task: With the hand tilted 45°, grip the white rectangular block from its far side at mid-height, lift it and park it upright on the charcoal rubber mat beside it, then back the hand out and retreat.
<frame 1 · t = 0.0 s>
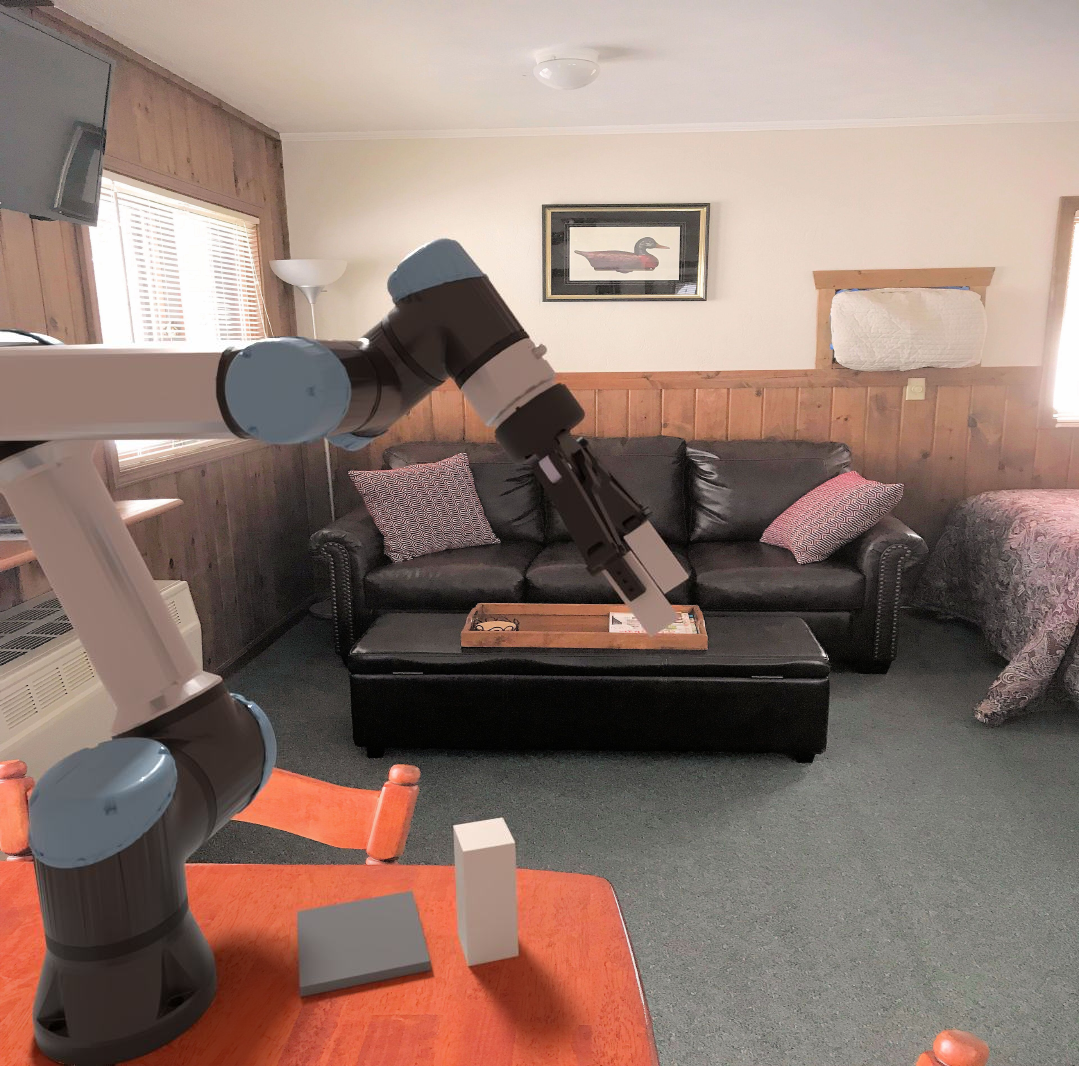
hand: (671, 604, 77), 36 cm above the table, fingers open, 13 cm apart
white rectangular block: (487, 945, 88), on the table
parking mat: (361, 944, 89), on the table
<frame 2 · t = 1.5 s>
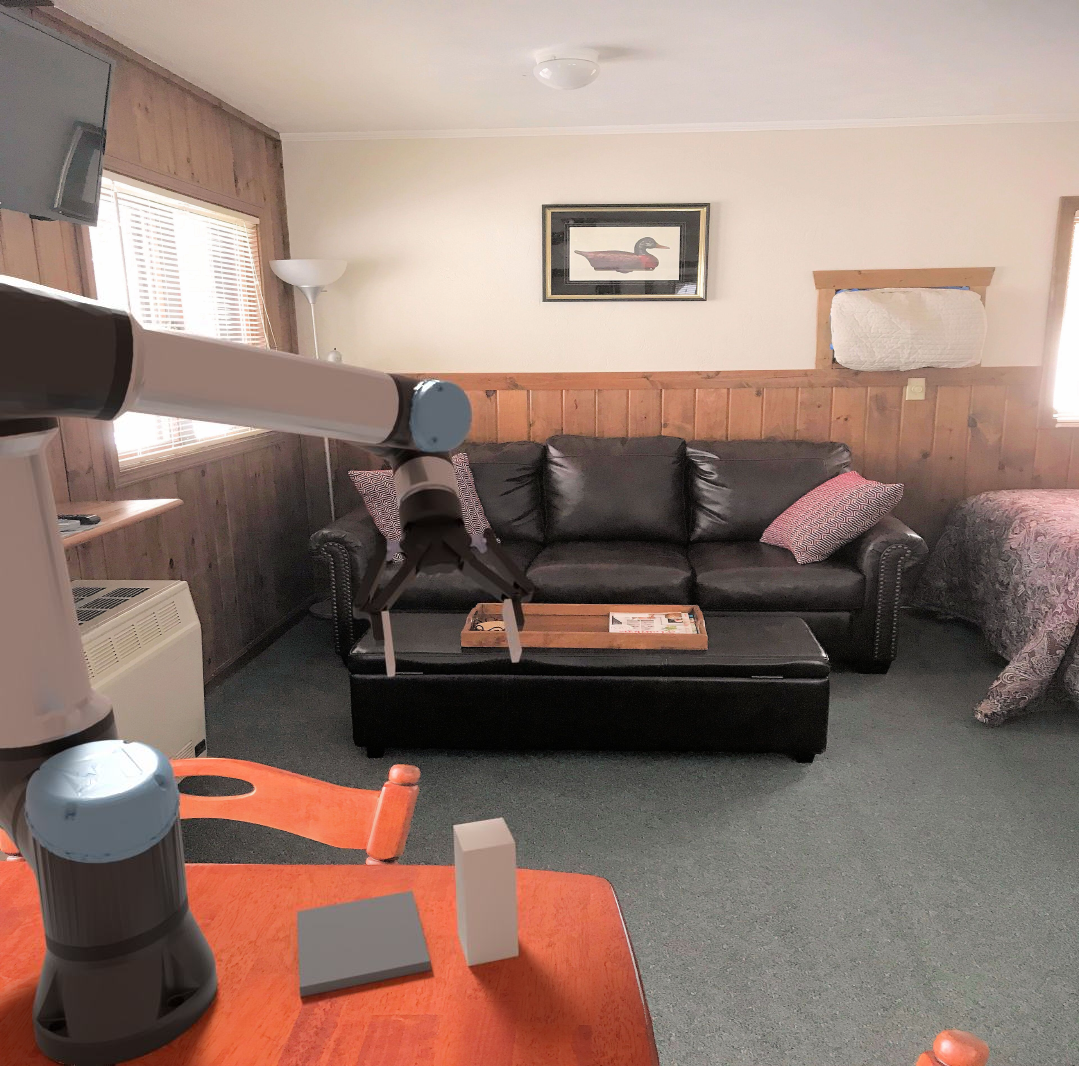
hand: (455, 664, 96), 25 cm above the table, fingers open, 13 cm apart
nothing on the table moved.
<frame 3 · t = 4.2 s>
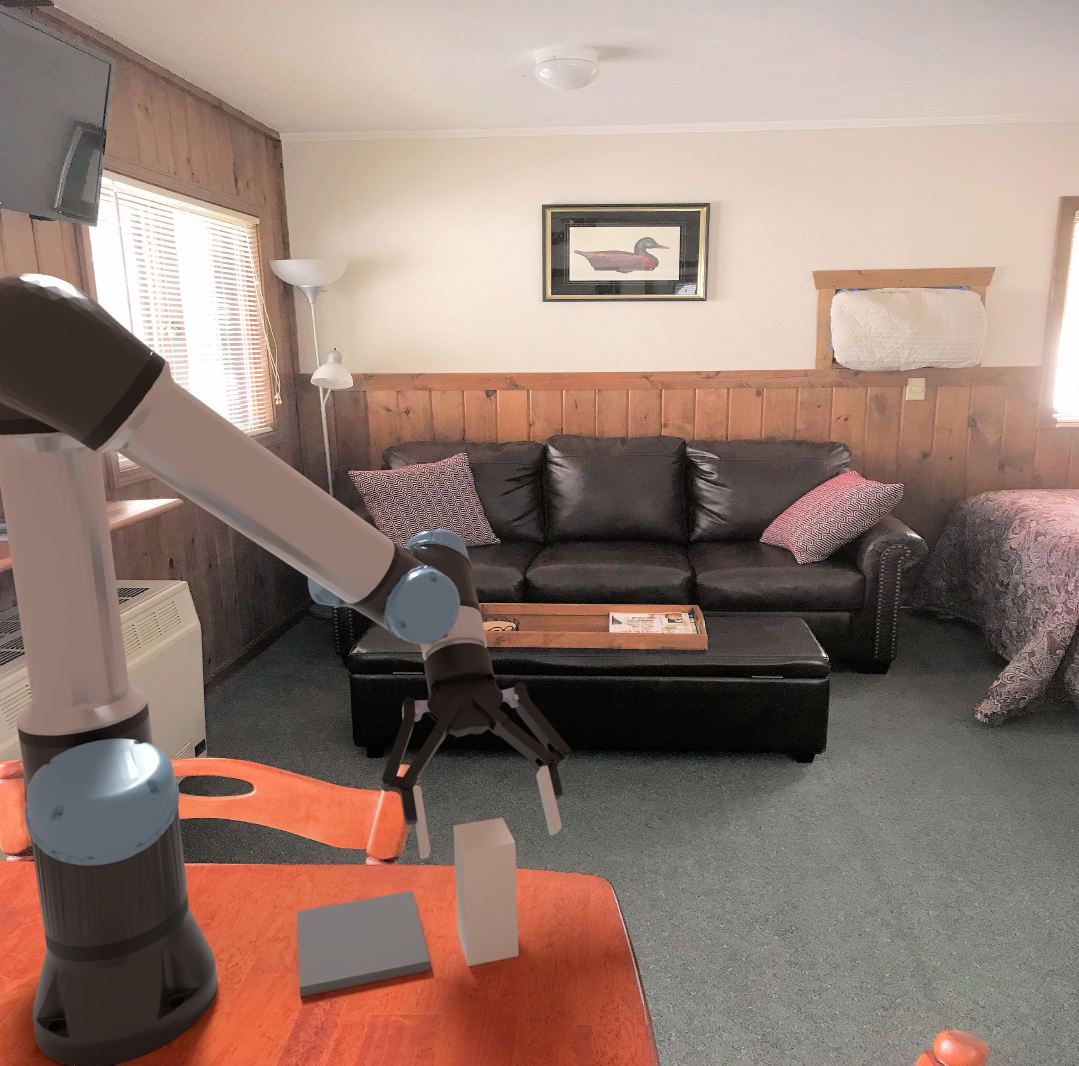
hand: (492, 843, 91), 9 cm above the table, fingers open, 13 cm apart
nothing on the table moved.
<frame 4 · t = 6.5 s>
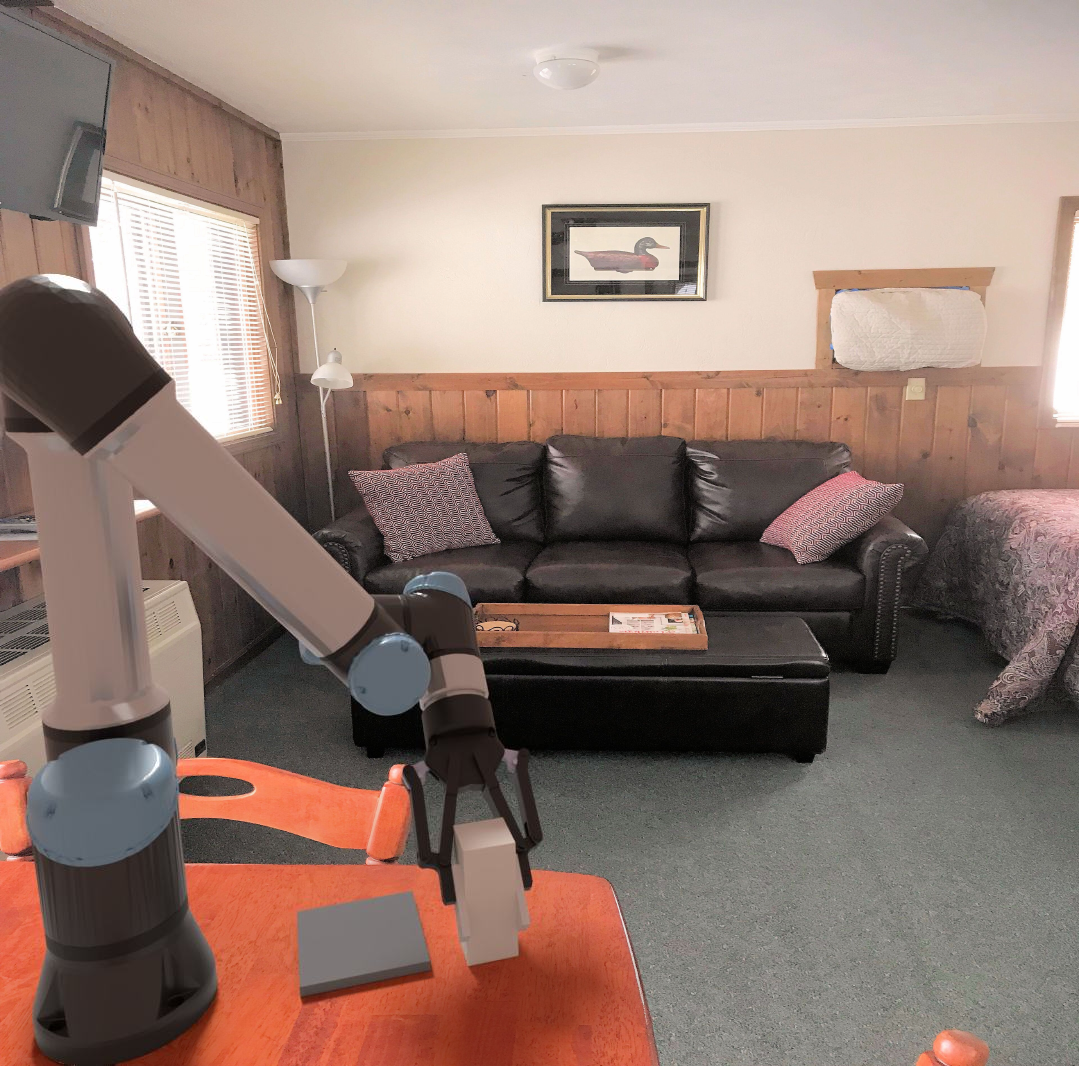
hand: (495, 933, 84), 4 cm above the table, fingers closed on white rectangular block, 5 cm apart
white rectangular block: (487, 945, 88), on the table, touching gripper
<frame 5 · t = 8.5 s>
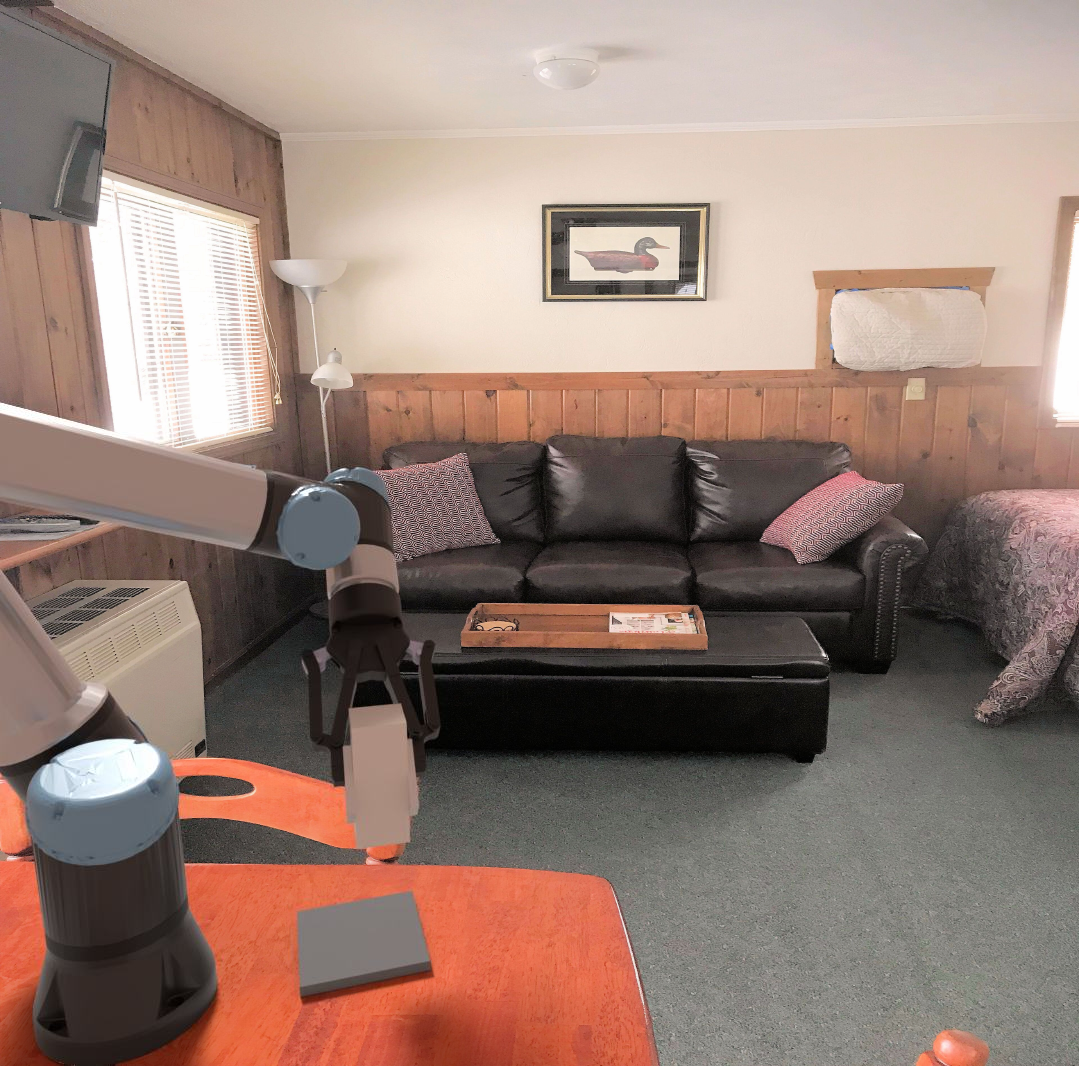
hand: (383, 814, 82), 16 cm above the table, fingers closed on white rectangular block, 5 cm apart
white rectangular block: (381, 832, 86), point 12 cm above the table, touching gripper
when the fingers open (6 cm above the table, at t = 10.9 s): white rectangular block drops 1 cm, resting on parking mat.
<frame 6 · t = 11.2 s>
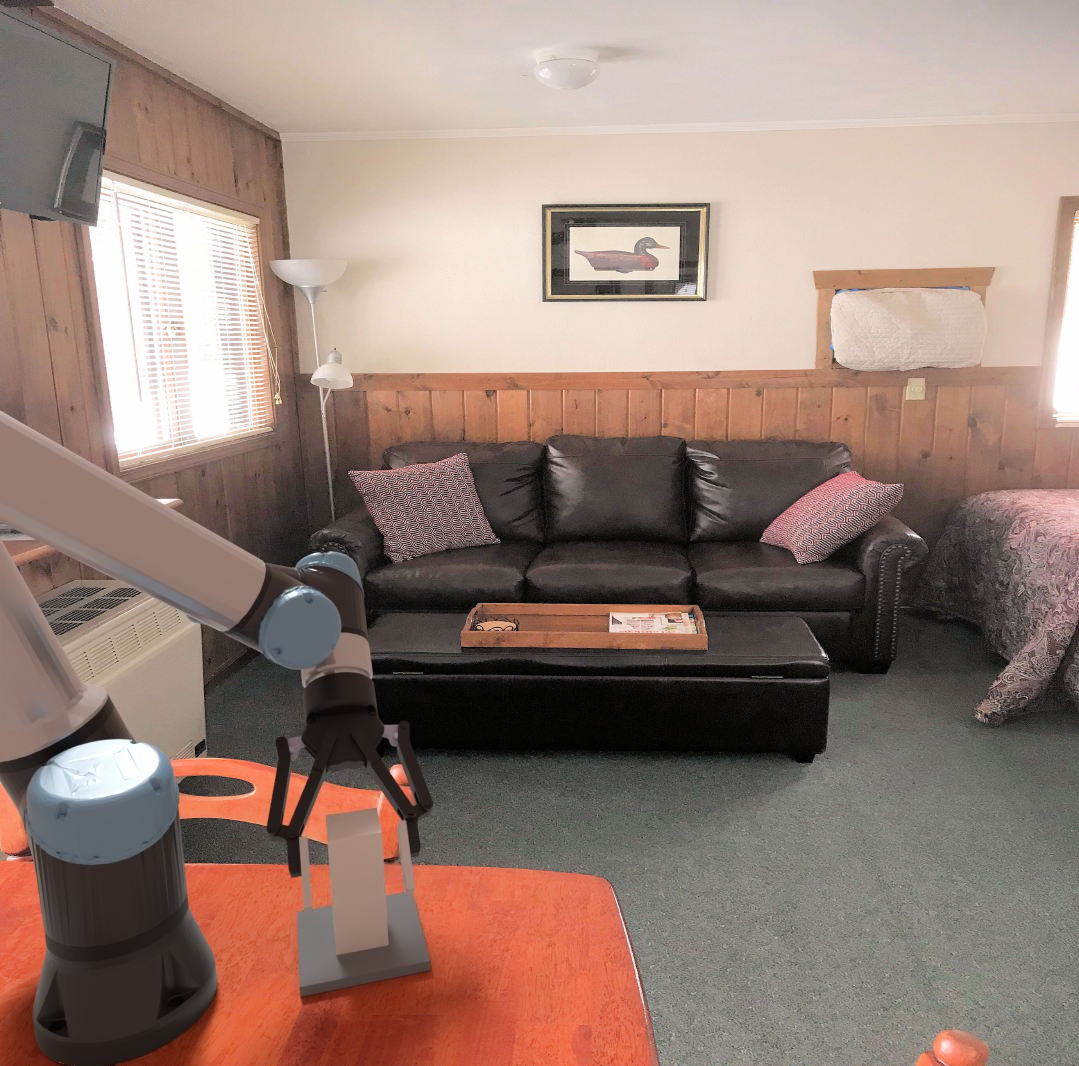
hand: (359, 901, 85), 7 cm above the table, fingers open, 9 cm apart
white rectangular block: (360, 934, 89), point 1 cm above the table, touching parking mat
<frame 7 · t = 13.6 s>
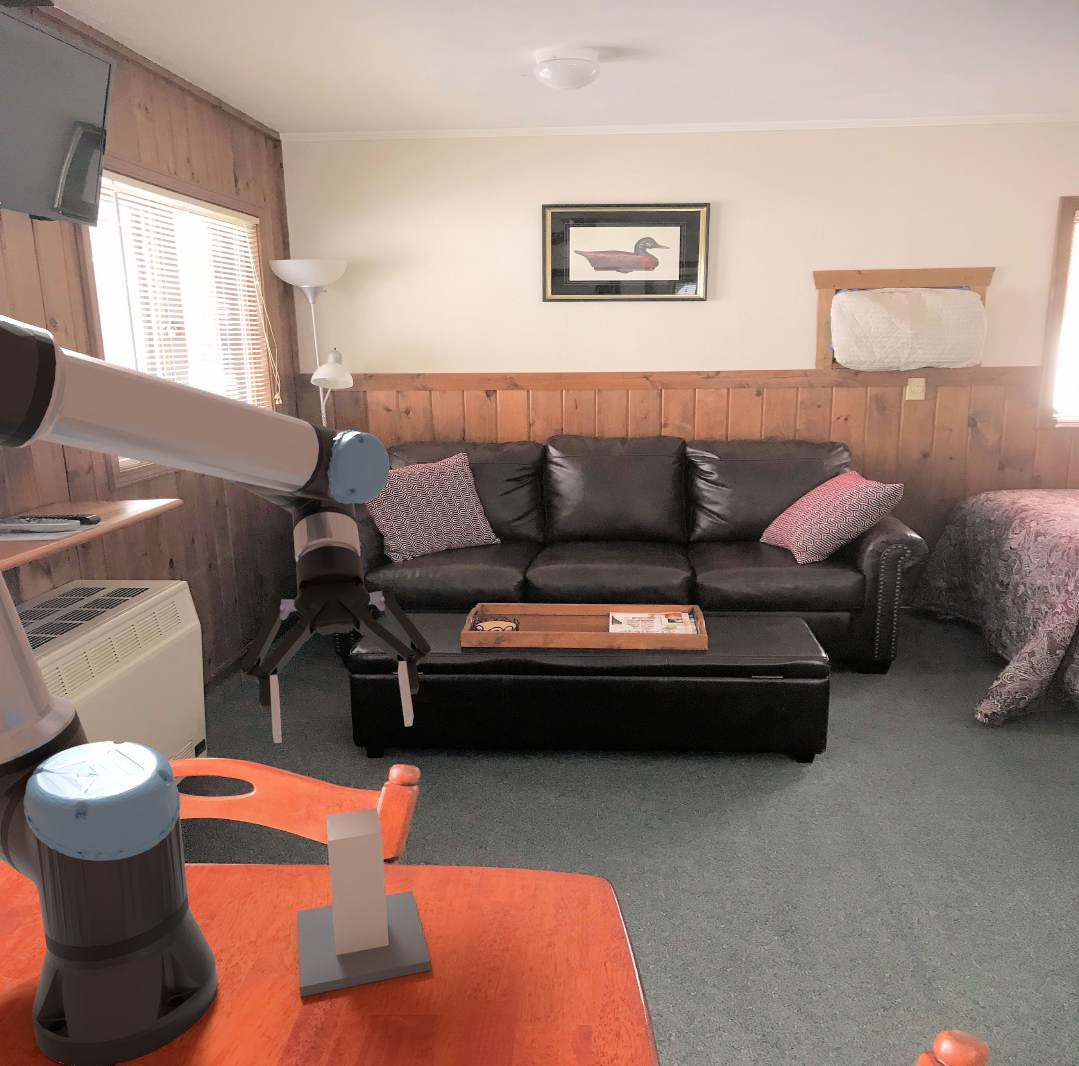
hand: (344, 730, 94), 19 cm above the table, fingers open, 13 cm apart
nothing on the table moved.
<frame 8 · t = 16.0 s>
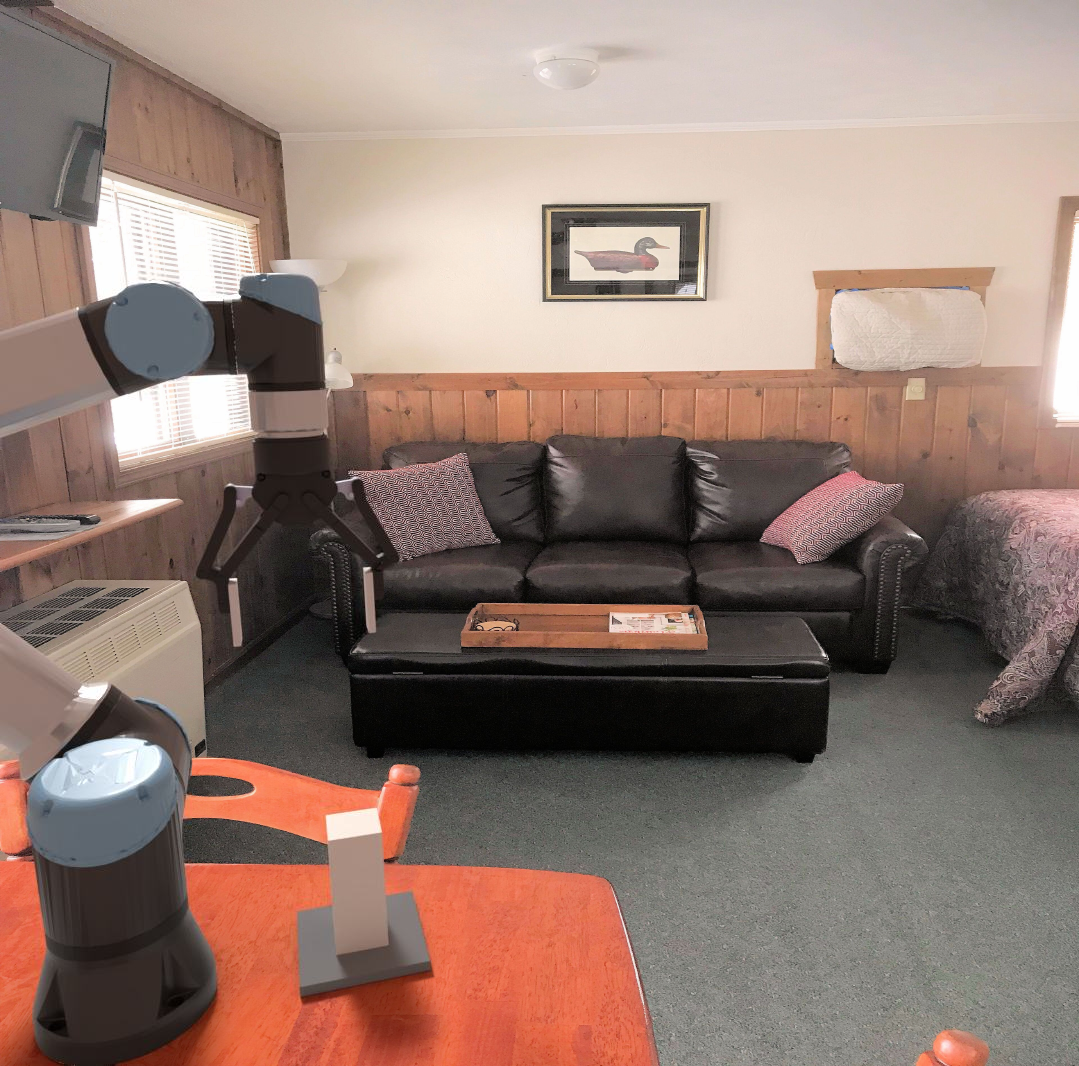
hand: (306, 636, 94), 29 cm above the table, fingers open, 13 cm apart
nothing on the table moved.
at the end: white rectangular block inside the target area on the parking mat (0.1 cm from its centre), point 1.0 cm above the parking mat's base; white rectangular block tilted 0°; the gripper is holding nothing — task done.
